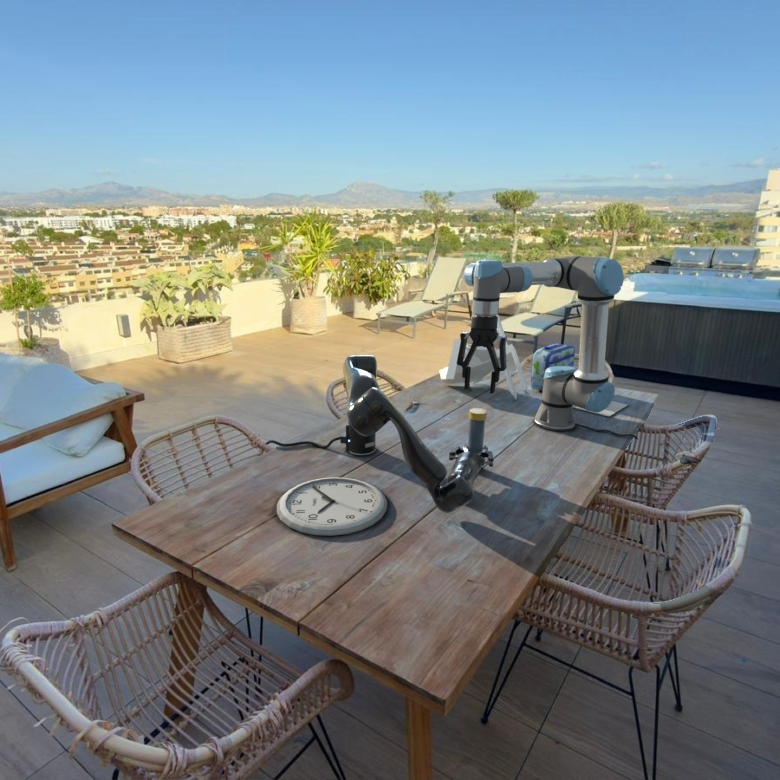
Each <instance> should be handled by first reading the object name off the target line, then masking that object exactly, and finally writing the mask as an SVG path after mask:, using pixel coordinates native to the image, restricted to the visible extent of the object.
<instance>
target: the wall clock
mask: <svg viewBox="0 0 780 780" xmlns="http://www.w3.org/2000/svg"><path fill="white" fill-rule="evenodd" d="M387 509H388V500H387V498H386V496H385V494H384V493H383V492H382V491H381V490H380V489H379V488H377V487H376V486H374V485H372V484H371V483H369V482H365V481H362V480H359V479H355V478H349V477H338V476H337V477H335V476H333V477H332V476H331V477H322V478H317V479H312V480H307V481H305V482H302V483H299V484H297V485H295V486H293V487H292V488H290V489H288V490H287V491H286V492H285V493H284V494H283V495H281V496H280V498H279V499H278V502H277V503H276V515H277V517H278V518H279V520H280V521H281V522H282V523H283V524H285V525H286V526H287V527H288V528H290V529H293V530H295V531H297V532H299V533H303V534H308V535H312V536H327V537H328V536H329V537H331V536H332V537H333V536H342V535H350V534H352V533H356V532H361V531H363V530H366V529H368V528H369V527H372V526H373V525H375V524H376V523H378V522H379V521H380V520H381V519H382V518H383V517H384V516H385V514H386V512H387Z"/></svg>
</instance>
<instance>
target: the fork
mask: <svg viewBox="0 0 780 780" xmlns="http://www.w3.org/2000/svg"><path fill="white" fill-rule="evenodd" d="M420 399H421V397H420V396H415V397H414V398H413V400H412V404H410V405H408V407H407V408H406V410H405V411H409V410H411V409H412V408H413V406H414V405H415V404H419V402H420Z"/></svg>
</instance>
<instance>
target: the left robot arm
mask: <svg viewBox="0 0 780 780" xmlns="http://www.w3.org/2000/svg"><path fill="white" fill-rule="evenodd" d="M342 373H343V377H344V381H345V383H346V384H345V385H346V393H347V394H346V395H347V406H346V417H347V424H346V425H345V431H344V432H343V433H342V434H341V435H340V436H337V437H333V438H332V439H330V440H329V441H328V443H327V444H325V445H322V444H319V443H317V442H314V441H311V440H310V441H309V440H305V441H298V442H297V441H296V442H290V443H282V442H279V441H277V440H274V439H269V440H267V441H266V442H265V443H264V445H266V446H268V445H270V444H274V445H277V446H279V447H294V446H295V447H296V446H299V445H300V446H301V445H312V446H314V447H317V448H320V449H329V448H330V446H332V444H333V443H334V442H336V441H339V442H340V444H344V445H345V452H346V453H348V454H350V455H352V456H357V457H368V456H370V455H371V456H372V455H373V454H375V453H376V449H377V447H376V445H377V443H376V436H377V435H376V434H377V432H378V431H380V430H381V429H382V428H383V427H384V426H385V425H386V424H388V423H389V422H391V423H392V424H393V425H394V427H395V429H396V430H397V433H398V436H399V439H400V443H401V450H402V454H403V459H404V462H405V464H406V466H407V467H408V469H409V471H411V472H412V474H414V476H415V477H416V478H417V479H419V480H420V482H421V483H422V484H423V485H424V487H425V488H426V490H427V491H428V493H429V495H430V496H431V498H432V500H433V503H434V505H435V506H436V508H437V509H438V510H439V511H441V512H442V513H444V514H452V513H453V512H455V511H457V510H458V509H460V508H462V507H464V506H466V505H468V504H469V503H470V502H471V501H472V500H473V499H474V497H475V489H474V483H475V482H476V480H477V479H478V477H479V475H480V472H481V471H480V469H481V470H482V468H481V467H484V465H488V466H489V467H491V468H492V467H494V462H495V457H494V454H493V451H491V450H489V447H488V446H487V445H486V444H485V445H484V444H483V449H482V451H478V452H476V453H473V452H468V442H467V443H465V444H464V445H463V446H462V447H461V446H455V447H454V448H453V449H451V450H450V451H449V454H448V460H449V461H454V460H455V462H454V463H453V464H452V468H451V471H450V472H449V475H448V476H447V474H448V470H447V467H446V466H445V465H444V464H443V462H441V461H440V459H439V458H437V457H436V456H435V455H434V453H433V452H432V451H431V450H430V449H429V448H428V447H427V446H426V444H425V443H424V442H423V440H422V439H421V438H420V437H419V435H418V434H417V432H416V431H415V429H414V428H413V427H412V426H411V424H410V423H409V422H408V421H407V419H406V418H405V416H404V415H403V414H402V413H401V411H400V410H399V408H397V406H396V405H395V403H394V402H393V401H392V400H391V399H390V397H388V396H387V394H386V393H384V392H383V391H382V390H381V389H380V385H379V383H378V380H377V378H378V377H377V376H378V375H377V374H378V361H377V358H376V357H375V355H372V354H371V355H370V354H365V355H364V354H361V355H360V354H359V355H357V354H356V355H354V354H353V355H347V356H346V357H345V358H344V361H343V365H342ZM446 476H447V483H445V484H443V485H442V484H441V483H442V482H443V481H444V480H445V479H446Z"/></svg>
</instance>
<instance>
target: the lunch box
mask: <svg viewBox="0 0 780 780" xmlns="http://www.w3.org/2000/svg"><path fill="white" fill-rule="evenodd" d="M575 352H576V351H575V346H573V345H568V344H562V343H553V344H550V345H547V346H546V345H545V346H544V347H541V348H538V349H537V350H536V351H535V352H534V354H533V357H532V362H531V371H530V372H531V374H530V387H531V389H533V390H539V391H543V380H544V379H543V378H544V375H545V370H546V369H547V368H549V367H555V366H570V367H574V363H575Z"/></svg>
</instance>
